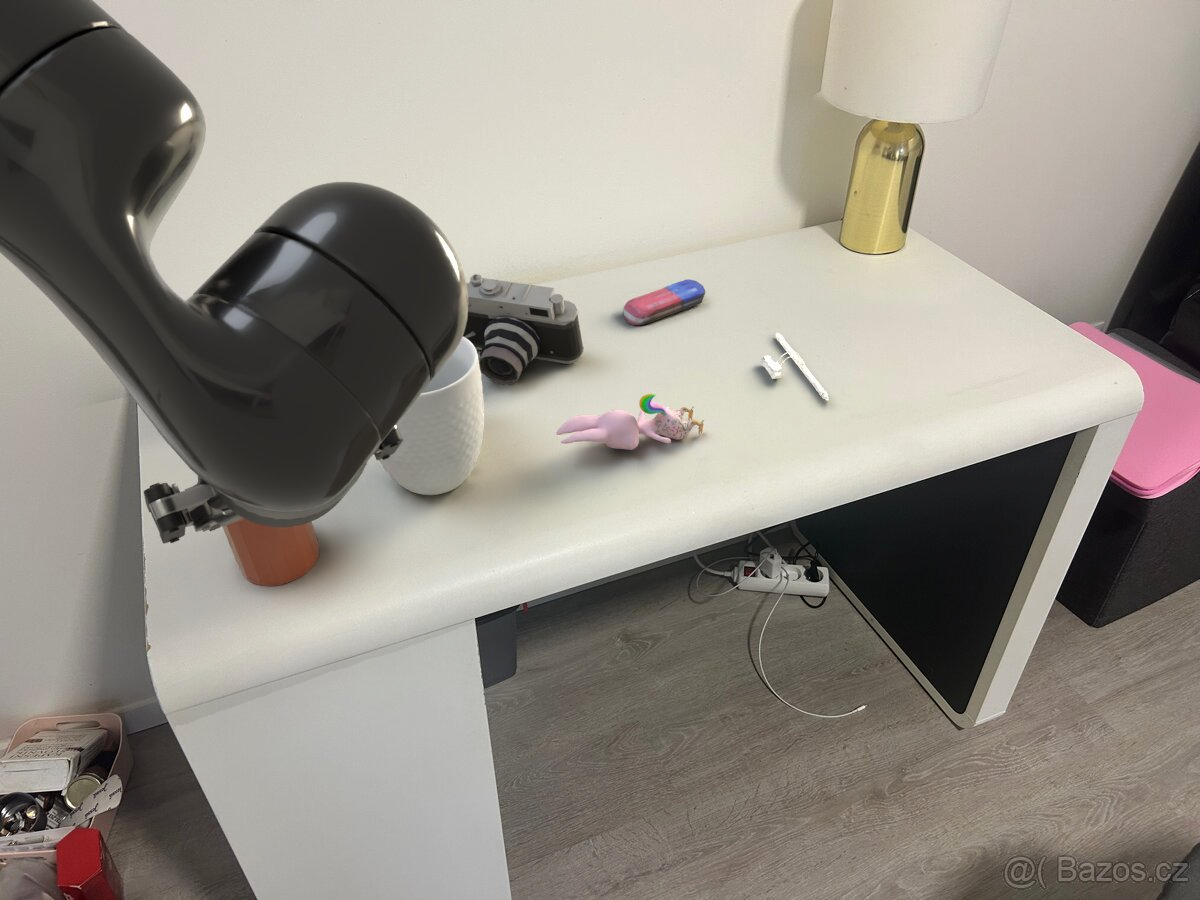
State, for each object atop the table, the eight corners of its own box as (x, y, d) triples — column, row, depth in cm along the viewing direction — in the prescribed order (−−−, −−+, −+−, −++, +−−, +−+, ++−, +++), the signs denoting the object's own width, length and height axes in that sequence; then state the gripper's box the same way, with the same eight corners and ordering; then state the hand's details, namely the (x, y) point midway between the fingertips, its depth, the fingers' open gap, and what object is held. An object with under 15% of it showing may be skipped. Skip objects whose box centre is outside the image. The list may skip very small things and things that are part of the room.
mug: (429, 408, 90) (411, 299, 82) (525, 428, 87) (516, 317, 79) (354, 498, 79) (325, 382, 71) (461, 523, 76) (442, 407, 68)
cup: (245, 596, 70) (212, 517, 64) (236, 544, 75) (205, 466, 69) (325, 571, 72) (301, 492, 66) (312, 522, 77) (288, 445, 71)
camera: (435, 381, 97) (412, 320, 89) (462, 327, 101) (442, 264, 93) (565, 403, 93) (553, 341, 85) (587, 346, 98) (578, 283, 90)
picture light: (830, 402, 90) (834, 386, 89) (793, 408, 90) (795, 392, 88) (778, 335, 101) (780, 320, 100) (744, 340, 100) (746, 325, 99)
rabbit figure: (680, 421, 90) (547, 433, 85) (692, 373, 87) (553, 383, 81) (706, 456, 86) (566, 471, 80) (719, 407, 82) (574, 419, 77)
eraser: (636, 329, 102) (636, 316, 101) (617, 315, 105) (617, 302, 104) (709, 301, 107) (710, 289, 106) (690, 288, 110) (690, 276, 108)
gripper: (392, 329, 45) (353, 401, 59) (100, 423, 39) (137, 477, 53) (449, 459, 45) (396, 499, 59) (166, 574, 38) (185, 587, 53)
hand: (274, 489), depth 56 cm, fingers open, 8 cm apart
